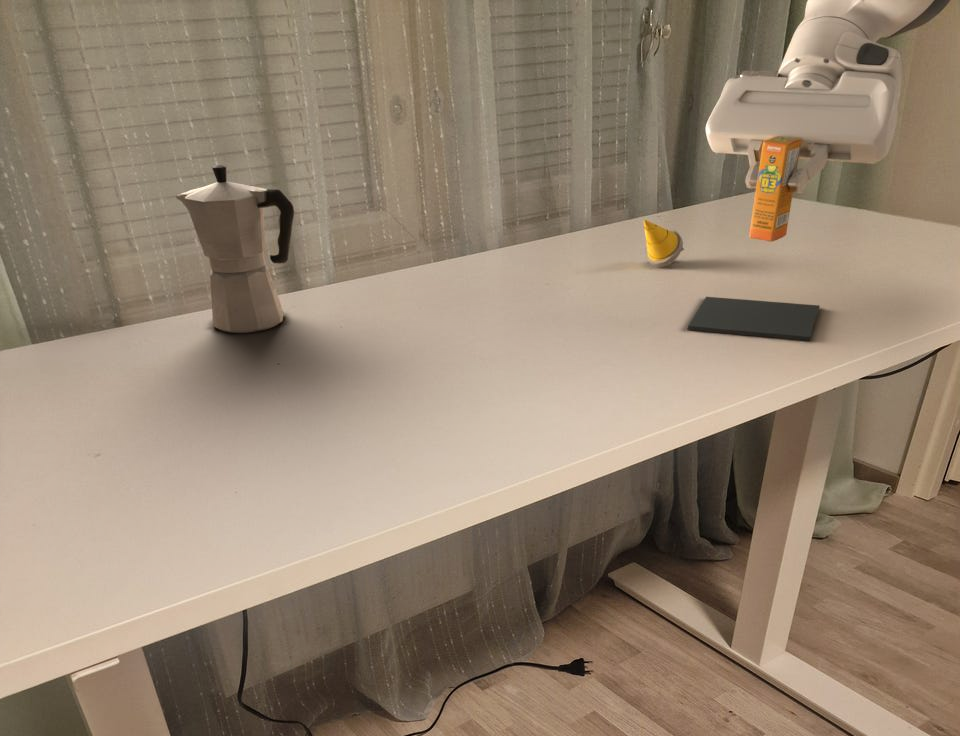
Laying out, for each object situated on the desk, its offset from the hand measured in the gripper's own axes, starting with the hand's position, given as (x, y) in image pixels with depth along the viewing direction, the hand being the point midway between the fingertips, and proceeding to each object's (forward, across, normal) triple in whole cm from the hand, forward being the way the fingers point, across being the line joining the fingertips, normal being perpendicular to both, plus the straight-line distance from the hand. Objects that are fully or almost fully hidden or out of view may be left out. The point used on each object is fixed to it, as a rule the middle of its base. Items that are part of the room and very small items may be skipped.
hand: (773, 187), depth 96 cm
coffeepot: (+32, -54, -11) cm, 64 cm away
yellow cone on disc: (-1, -20, +22) cm, 30 cm away
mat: (+10, 0, +11) cm, 15 cm away
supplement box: (+4, 0, +4) cm, 6 cm away
